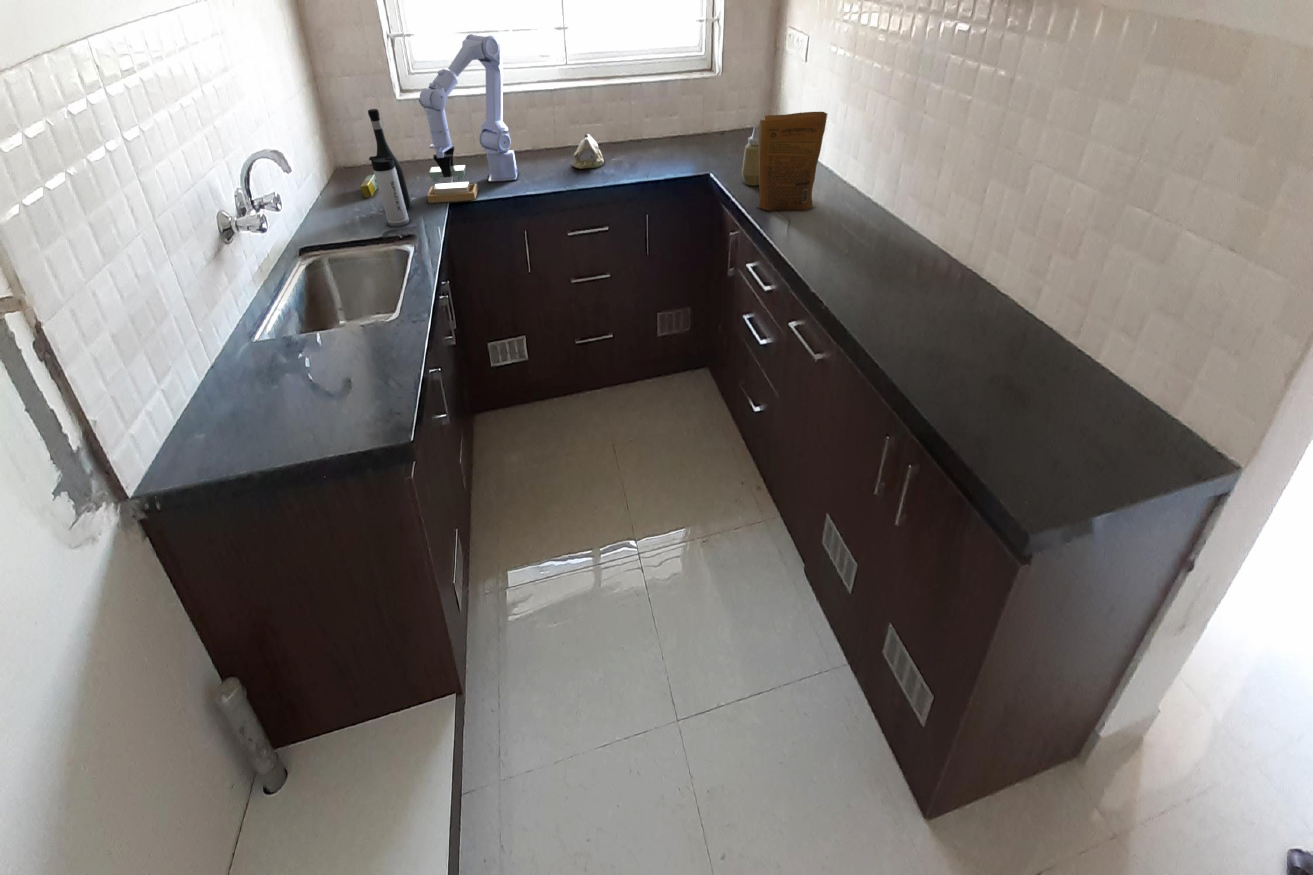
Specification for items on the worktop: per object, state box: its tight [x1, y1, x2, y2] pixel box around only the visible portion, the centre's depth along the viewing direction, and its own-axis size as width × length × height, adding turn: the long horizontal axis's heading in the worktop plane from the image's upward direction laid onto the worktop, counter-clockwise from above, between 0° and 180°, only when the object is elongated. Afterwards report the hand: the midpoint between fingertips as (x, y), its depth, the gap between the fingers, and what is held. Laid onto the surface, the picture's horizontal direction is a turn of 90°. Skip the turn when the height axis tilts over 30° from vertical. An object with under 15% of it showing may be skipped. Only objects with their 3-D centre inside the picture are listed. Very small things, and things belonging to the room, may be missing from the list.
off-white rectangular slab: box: [433, 181, 470, 195], centre depth 236 cm, size 11×5×3 cm, turn 95°
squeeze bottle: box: [741, 125, 759, 187], centre depth 231 cm, size 8×8×18 cm
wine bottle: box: [367, 108, 412, 211], centre depth 220 cm, size 8×8×30 cm
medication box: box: [360, 173, 378, 199], centre depth 242 cm, size 12×3×4 cm, turn 7°
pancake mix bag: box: [758, 111, 828, 212], centre depth 209 cm, size 7×19×28 cm, turn 86°
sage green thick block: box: [428, 164, 467, 183], centre depth 232 cm, size 11×5×3 cm, turn 95°
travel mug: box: [368, 155, 410, 228], centre depth 214 cm, size 6×7×20 cm
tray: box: [426, 183, 479, 204], centre depth 236 cm, size 15×9×2 cm, turn 95°
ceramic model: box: [572, 133, 605, 169], centre depth 256 cm, size 14×11×10 cm
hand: (448, 174), depth 232 cm, fingers closed on sage green thick block, 5 cm apart
